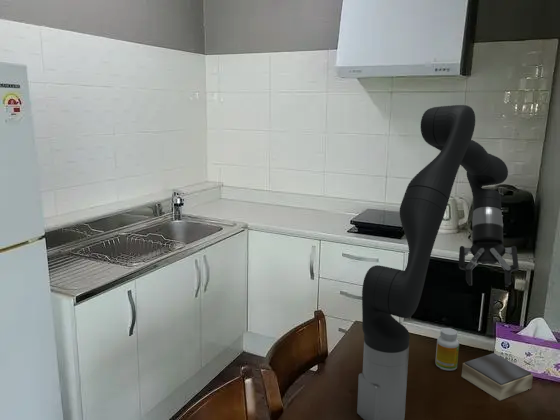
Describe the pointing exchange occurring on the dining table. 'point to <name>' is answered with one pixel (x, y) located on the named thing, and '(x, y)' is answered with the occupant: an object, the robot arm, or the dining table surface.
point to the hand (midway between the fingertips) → (488, 285)
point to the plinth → (497, 376)
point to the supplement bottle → (447, 349)
